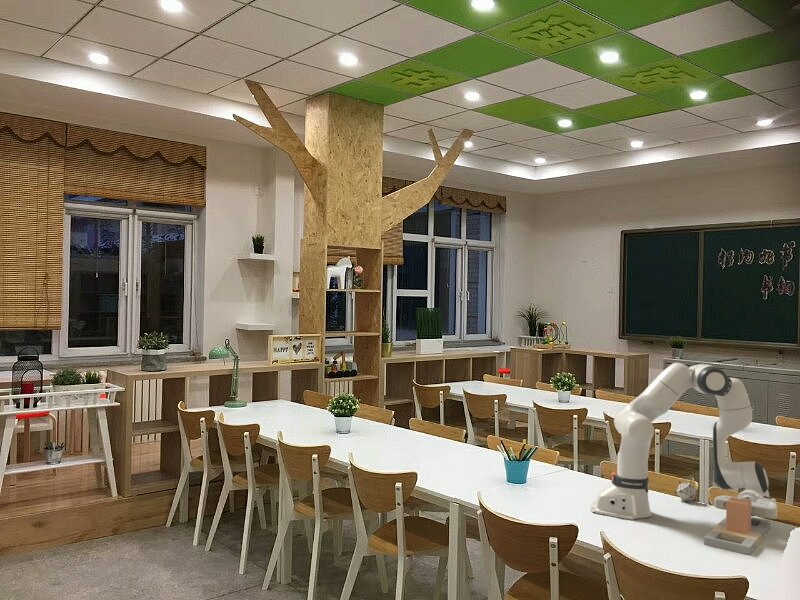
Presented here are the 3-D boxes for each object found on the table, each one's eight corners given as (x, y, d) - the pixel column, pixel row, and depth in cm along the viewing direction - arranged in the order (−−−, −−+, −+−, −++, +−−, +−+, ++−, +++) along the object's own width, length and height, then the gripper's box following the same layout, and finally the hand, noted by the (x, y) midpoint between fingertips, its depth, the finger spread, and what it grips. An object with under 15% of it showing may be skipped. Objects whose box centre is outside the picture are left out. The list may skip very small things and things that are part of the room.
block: (730, 525, 239) (731, 497, 239) (751, 529, 235) (751, 500, 235) (726, 529, 234) (726, 501, 234) (746, 534, 230) (747, 504, 230)
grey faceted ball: (687, 509, 278) (696, 488, 281) (696, 507, 270) (706, 485, 273) (667, 497, 280) (677, 476, 283) (676, 495, 272) (685, 473, 275)
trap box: (729, 520, 253) (729, 513, 253) (771, 528, 244) (771, 521, 244) (703, 544, 226) (703, 537, 226) (749, 555, 218) (749, 547, 218)
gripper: (719, 489, 255) (709, 496, 244) (780, 500, 242) (773, 508, 231) (719, 505, 255) (709, 514, 244) (780, 517, 242) (772, 527, 231)
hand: (740, 511), depth 237 cm, fingers closed, pressing on block
